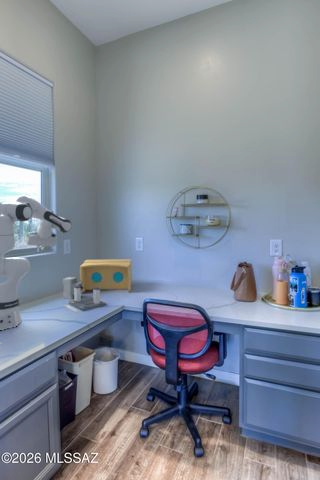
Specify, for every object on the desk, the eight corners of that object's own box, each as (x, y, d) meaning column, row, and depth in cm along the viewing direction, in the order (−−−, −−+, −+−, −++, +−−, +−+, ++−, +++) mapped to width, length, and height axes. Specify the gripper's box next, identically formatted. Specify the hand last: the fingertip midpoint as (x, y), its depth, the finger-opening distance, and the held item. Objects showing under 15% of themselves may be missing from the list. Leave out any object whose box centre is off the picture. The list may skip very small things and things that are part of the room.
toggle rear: (76, 302, 194) (76, 287, 193) (74, 300, 197) (73, 286, 196) (81, 301, 196) (80, 286, 195) (78, 299, 199) (77, 285, 198)
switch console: (76, 312, 177) (76, 308, 177) (62, 305, 193) (62, 301, 193) (106, 305, 192) (106, 301, 192) (91, 298, 208) (91, 295, 208)
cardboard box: (131, 285, 249) (131, 259, 247) (129, 293, 223) (129, 264, 221) (87, 286, 247) (86, 259, 245) (80, 294, 221) (79, 264, 219)
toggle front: (96, 304, 189) (95, 288, 188) (93, 302, 192) (92, 287, 191) (100, 303, 191) (100, 287, 190) (97, 301, 194) (96, 286, 193)
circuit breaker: (80, 299, 207) (79, 279, 206) (63, 298, 210) (62, 279, 209) (84, 296, 214) (84, 277, 213) (68, 295, 217) (67, 277, 216)
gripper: (30, 232, 181) (26, 252, 184) (59, 235, 196) (55, 253, 199) (26, 230, 185) (22, 249, 188) (55, 232, 200) (51, 250, 203)
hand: (39, 251), depth 193 cm, fingers closed
